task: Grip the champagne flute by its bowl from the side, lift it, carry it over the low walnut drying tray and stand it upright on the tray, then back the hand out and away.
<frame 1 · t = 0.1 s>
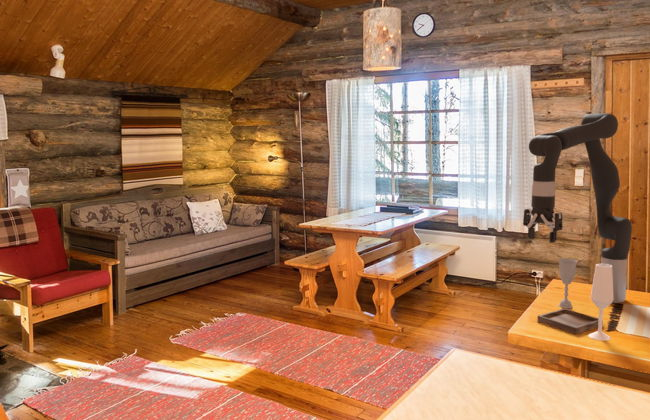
hand: (541, 240, 199), 29 cm above the table, tool pointing down, fingers open, 8 cm apart
chalice: (565, 306, 219), on the table
champagne flute: (599, 337, 187), on the table
drying tray: (569, 323, 200), on the table
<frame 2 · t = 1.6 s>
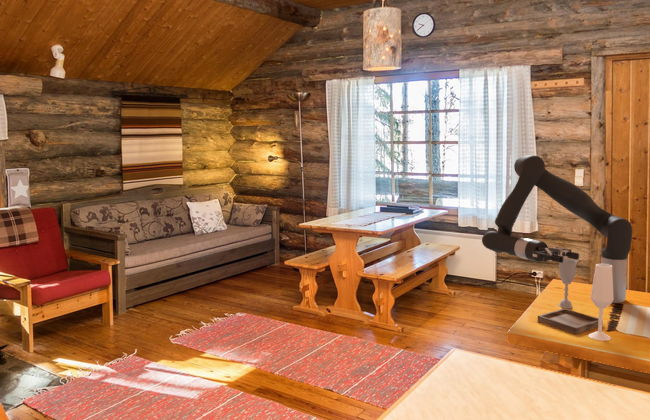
hand: (570, 258, 194), 24 cm above the table, tool horizontal, fingers open, 8 cm apart
nothing on the table moved.
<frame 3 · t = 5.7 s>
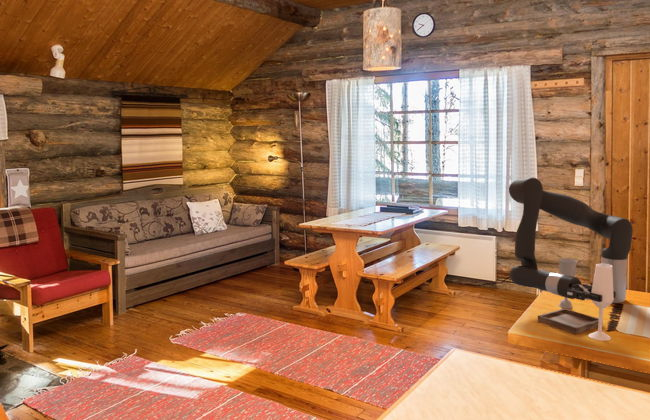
hand: (608, 297, 184), 14 cm above the table, tool horizontal, fingers closed on champagne flute, 6 cm apart
champagne flute: (599, 337, 187), on the table, touching gripper
everything else where it was.
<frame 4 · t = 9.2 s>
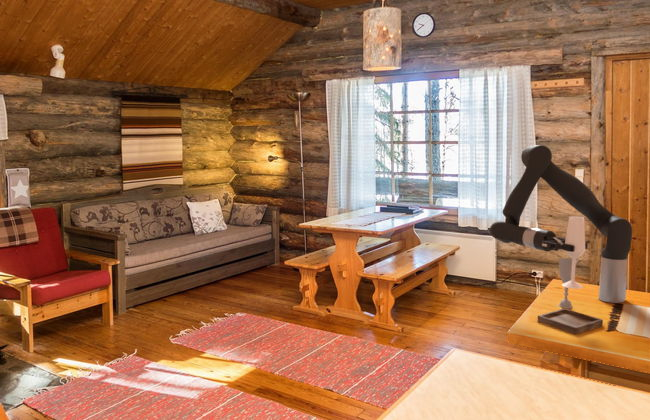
hand: (580, 247, 194), 28 cm above the table, tool horizontal, fingers closed on champagne flute, 6 cm apart
champagne flute: (572, 286, 198), point 13 cm above the table, touching gripper
everything else where it was.
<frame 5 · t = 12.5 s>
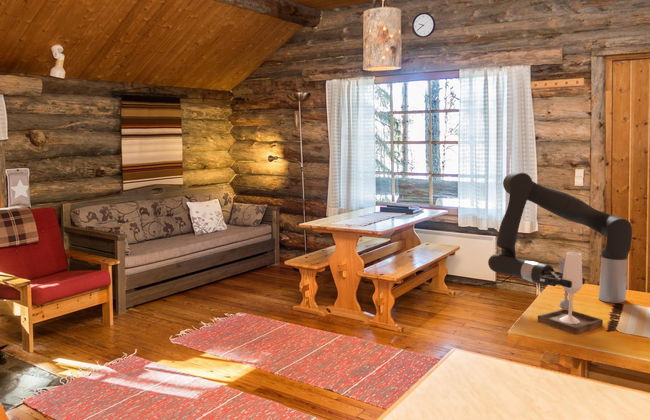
hand: (577, 283, 196), 15 cm above the table, tool horizontal, fingers closed on champagne flute, 6 cm apart
champagne flute: (569, 321, 200), point 1 cm above the table, touching gripper
everything else where it was.
when the fingers open (15 cm above the table, at t = 12.9 s): champagne flute stays where it is, resting on drying tray.
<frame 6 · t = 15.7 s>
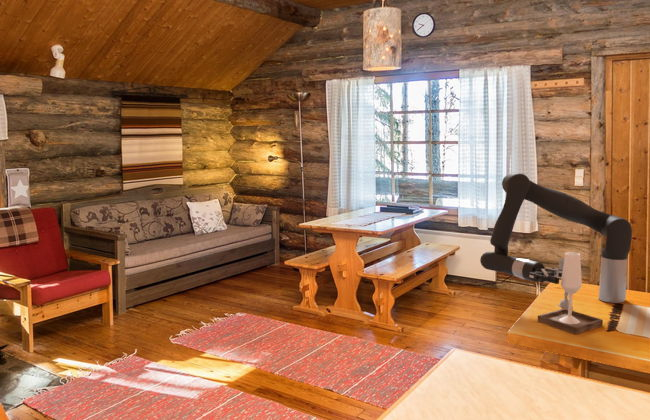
hand: (566, 279, 199), 16 cm above the table, tool horizontal, fingers open, 8 cm apart
champagne flute: (569, 321, 200), point 1 cm above the table, touching drying tray
everything else where it was.
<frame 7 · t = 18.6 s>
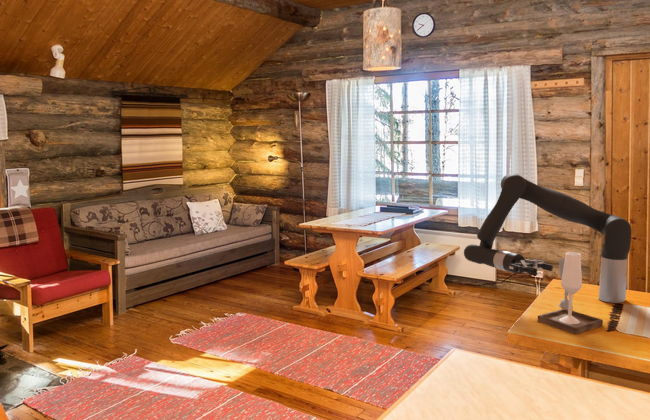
hand: (544, 269, 207), 17 cm above the table, tool horizontal, fingers open, 8 cm apart
nothing on the table moved.
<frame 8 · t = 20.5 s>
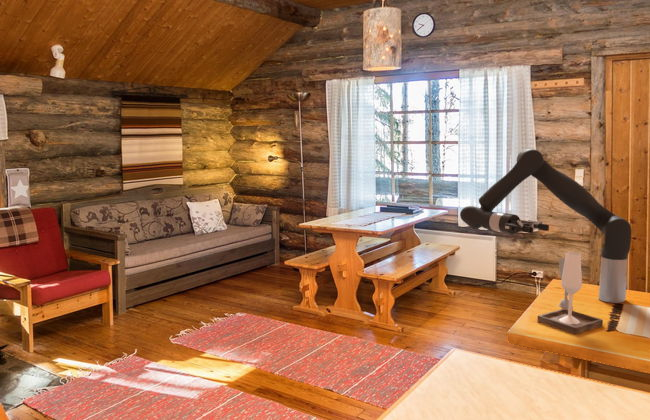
hand: (540, 229, 204), 32 cm above the table, tool horizontal, fingers open, 8 cm apart
nothing on the table moved.
at the end: champagne flute inside the target area on the drying tray (0.2 cm from its centre), point 0.8 cm above the drying tray's base; champagne flute tilted 0°; the gripper is holding nothing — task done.
